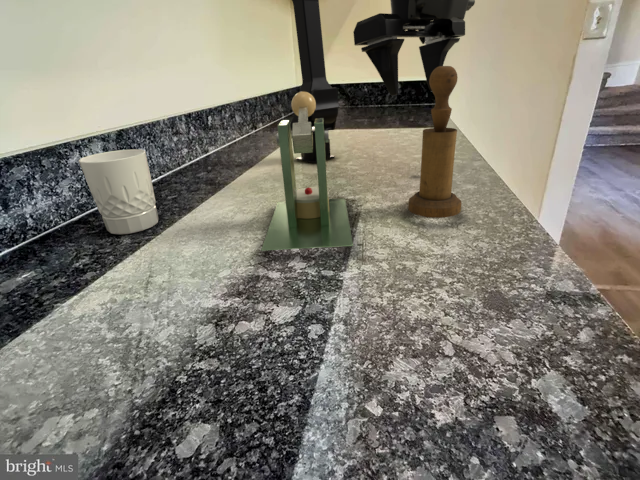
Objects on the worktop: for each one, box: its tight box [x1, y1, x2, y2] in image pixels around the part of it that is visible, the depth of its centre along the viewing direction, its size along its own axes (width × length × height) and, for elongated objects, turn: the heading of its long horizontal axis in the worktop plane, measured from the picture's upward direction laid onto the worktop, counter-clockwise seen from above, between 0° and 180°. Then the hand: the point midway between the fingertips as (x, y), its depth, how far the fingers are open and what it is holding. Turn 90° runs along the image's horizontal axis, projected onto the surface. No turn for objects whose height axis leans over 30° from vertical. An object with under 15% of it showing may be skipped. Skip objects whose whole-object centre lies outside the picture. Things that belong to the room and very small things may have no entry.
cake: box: [296, 187, 330, 219], centre depth 48 cm, size 5×5×3 cm
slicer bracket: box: [260, 118, 354, 252], centre depth 44 cm, size 16×10×13 cm, turn 0°
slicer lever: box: [290, 91, 316, 154], centre depth 45 cm, size 11×3×3 cm, turn 0°
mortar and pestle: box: [407, 65, 462, 219], centre depth 44 cm, size 7×6×18 cm
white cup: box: [78, 148, 160, 235], centre depth 50 cm, size 8×8×10 cm
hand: (414, 92), depth 57 cm, fingers open, 9 cm apart
